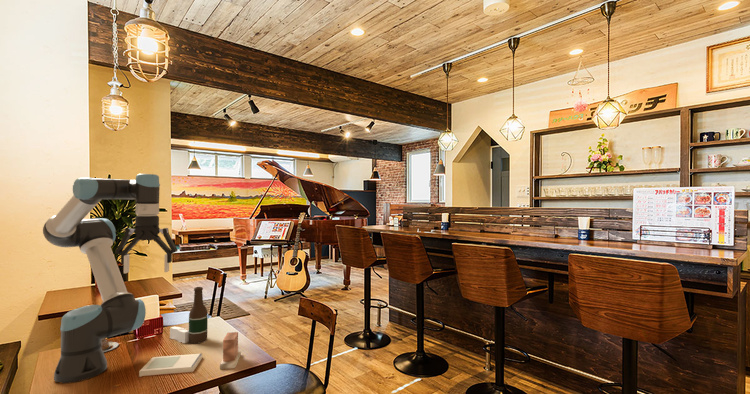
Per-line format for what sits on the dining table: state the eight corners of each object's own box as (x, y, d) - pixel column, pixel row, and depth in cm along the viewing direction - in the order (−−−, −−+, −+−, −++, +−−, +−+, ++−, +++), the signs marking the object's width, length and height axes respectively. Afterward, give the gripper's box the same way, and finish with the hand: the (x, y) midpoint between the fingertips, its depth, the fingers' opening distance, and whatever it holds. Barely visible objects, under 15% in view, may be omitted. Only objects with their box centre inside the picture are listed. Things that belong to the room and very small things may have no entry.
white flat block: (139, 376, 131) (139, 370, 131) (152, 362, 143) (152, 356, 143) (193, 372, 134) (193, 366, 134) (202, 358, 146) (202, 353, 146)
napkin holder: (165, 338, 169) (165, 325, 169) (192, 334, 174) (193, 322, 174) (163, 350, 156) (163, 336, 156) (193, 345, 161) (193, 332, 161)
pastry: (78, 357, 148) (78, 346, 149) (91, 346, 160) (91, 335, 160) (112, 353, 152) (112, 342, 152) (123, 343, 163) (123, 332, 164)
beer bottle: (211, 337, 168) (211, 285, 168) (201, 344, 160) (201, 289, 161) (195, 337, 169) (195, 285, 169) (184, 343, 161) (184, 289, 161)
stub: (219, 369, 136) (219, 342, 136) (226, 355, 148) (226, 331, 148) (235, 368, 137) (235, 341, 137) (240, 354, 149) (240, 330, 149)
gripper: (104, 215, 130) (103, 275, 130) (180, 215, 136) (179, 273, 135) (114, 214, 138) (114, 271, 138) (186, 214, 143) (186, 269, 143)
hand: (146, 272), depth 137 cm, fingers open, 13 cm apart
